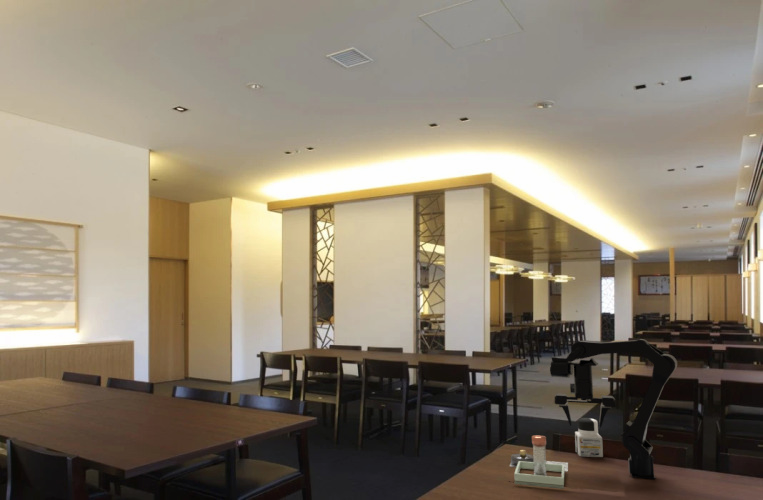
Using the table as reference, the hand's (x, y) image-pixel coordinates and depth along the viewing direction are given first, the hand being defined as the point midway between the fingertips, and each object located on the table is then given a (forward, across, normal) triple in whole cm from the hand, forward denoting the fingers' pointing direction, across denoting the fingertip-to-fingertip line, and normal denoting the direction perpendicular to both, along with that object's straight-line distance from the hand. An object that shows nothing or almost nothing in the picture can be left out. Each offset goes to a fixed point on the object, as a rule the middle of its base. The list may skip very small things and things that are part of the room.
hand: (585, 426), depth 179 cm
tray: (+13, +14, +18) cm, 26 cm away
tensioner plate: (+13, +15, +5) cm, 20 cm away
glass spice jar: (+12, +14, +18) cm, 26 cm away
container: (+13, -1, -14) cm, 19 cm away
